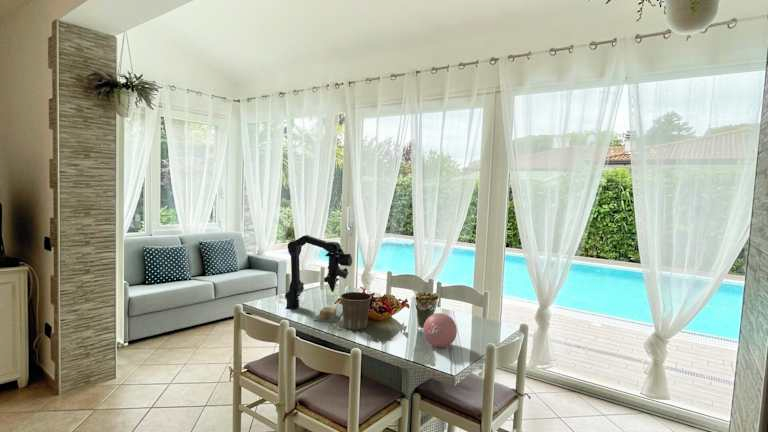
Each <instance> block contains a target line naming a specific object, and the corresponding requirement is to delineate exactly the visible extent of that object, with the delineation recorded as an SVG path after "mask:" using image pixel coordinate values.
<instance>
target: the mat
mask: <svg viewBox="0 0 768 432" xmlns="http://www.w3.org/2000/svg"><path fill="white" fill-rule="evenodd" d="M341 316H343V311H337V310H336V316H335V317H334V318H333V320H327V319H320V313H319V314H318V315H317V316H316V317H315V318H314V319H313V321H314V322H323V323H324V322H326V323H337V322H338V320H339V319H340V318H341Z"/></svg>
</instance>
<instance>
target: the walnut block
mask: <svg viewBox="0 0 768 432" xmlns="http://www.w3.org/2000/svg"><path fill="white" fill-rule="evenodd" d="M336 311H337V307H328V306H326V307H323V308H322V309H320V310H319V314H320V319H327V320H333V318H334V317H335V316H336Z"/></svg>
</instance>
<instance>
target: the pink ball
mask: <svg viewBox="0 0 768 432" xmlns="http://www.w3.org/2000/svg"><path fill="white" fill-rule="evenodd" d="M422 327H423V328H422V331H423V332H422V333H423V336H424V338H425V340H426V342H427V343H428V344H429V345H431V346H432V347H435V348H438V349H439V348H447V347H449V346H450V345H452V344H453V342H454V341H455V340H456V337H457V335H458V333H457V332H458V329H457V324H456V323H455V320H454V319H453V318H452V317H451V316H450V315H448V314H446V313H442V312H438V313H434V314H431V315H429V316H428V317H427V319H426V320H425V322H424V324H423V326H422Z"/></svg>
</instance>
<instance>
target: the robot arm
mask: <svg viewBox="0 0 768 432" xmlns="http://www.w3.org/2000/svg"><path fill="white" fill-rule="evenodd" d="M306 244H310V245H311V246H312V245H313V246H316V247H319V248H322V249H323V250H325V251H326V252H327V253H326V254H325V257H328V266H327V269H328V270H327V271H328V273H327V275H326V276H325V277H324V278H323V282H324V283H327V284H328V286H329V289H330V291H331V292H332V293H334V291H335V289H336V285H337V282H338V281H339V280H340V278H343V279H345V280H346V279H347V278H348V275H349V273H350V272H349V271H348V270H349V269H348V268H346V267H351V266H352V263H353V257H352V254H351V253H345V252H344V250H343V249H342V246H341V244H340V243H339V242H337V241H329V240H328V241H326V240H323V239H321V238H318V237H317V238H316V237H314V236H310V235H308V234H306V235H303V236H301V237H299V238H297V239H295V240H292V241H289V242H288V243H287V251H288V254H289V255H290V269H291V270H290V271H291V273H290V275H291V276H290V277H291V281H290V284H289V287H288V291H287V292H286V293H285V295H284V297H285V299H286V307H285V309H289V310H297V309H299V308H300V299H299V298H300V296H301V294H302V293H303V291H304V290H305V287H304V284H305V283H304V281H303V282H302V281H301V276H300V273H301V272H300V271H301V270H300V267H301V266H300V254H301V252H302V247H304V245H306ZM340 266H342V267H343V266H345V268H344V269H343V268H342V269H341V267H340ZM338 277H340V278H338Z"/></svg>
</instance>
